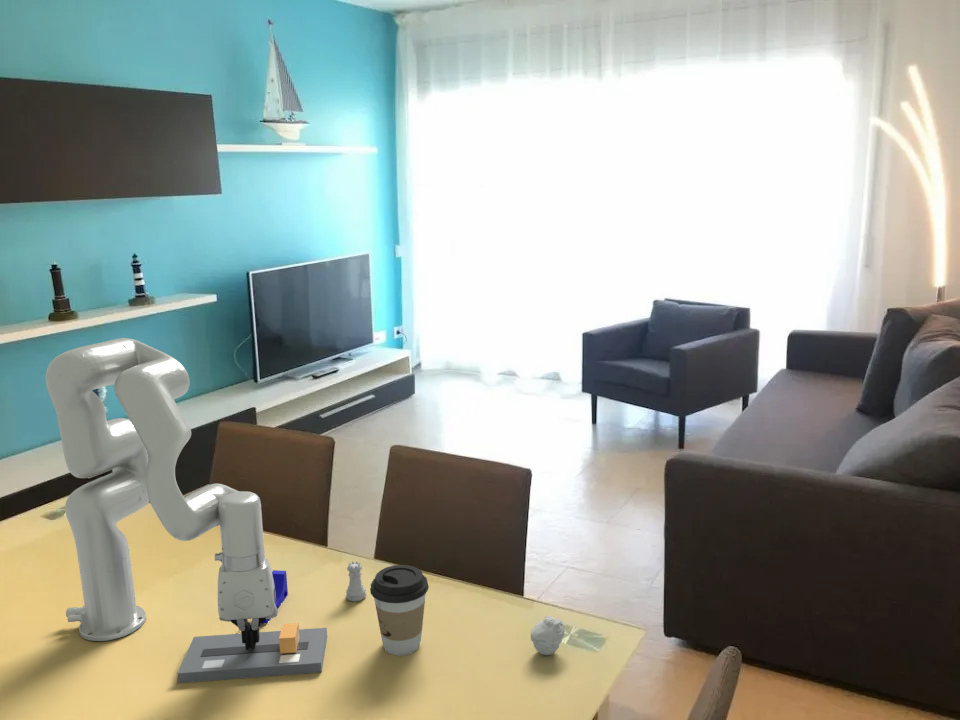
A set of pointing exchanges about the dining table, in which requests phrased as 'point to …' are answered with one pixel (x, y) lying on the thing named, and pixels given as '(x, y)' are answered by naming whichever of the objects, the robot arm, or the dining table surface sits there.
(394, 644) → the coffee cup
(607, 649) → the dining table surface
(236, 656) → the switch panel
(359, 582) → the rook chess piece
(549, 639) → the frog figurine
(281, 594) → the blue curved stepped piece
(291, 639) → the switch knob
